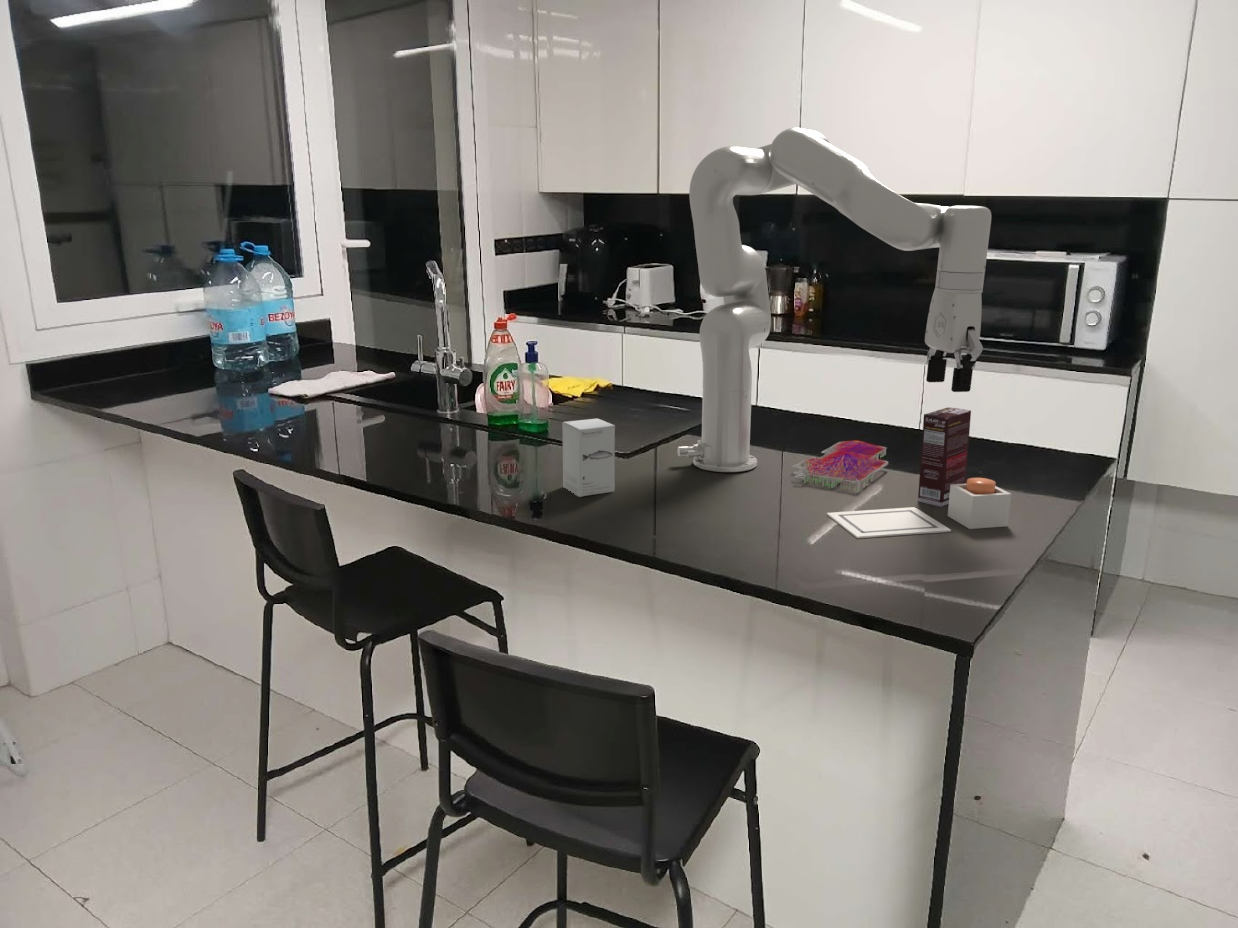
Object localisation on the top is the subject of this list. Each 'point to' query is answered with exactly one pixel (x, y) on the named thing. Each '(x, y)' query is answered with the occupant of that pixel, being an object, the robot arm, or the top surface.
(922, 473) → the supplement box
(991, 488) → the button
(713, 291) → the robot arm
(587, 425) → the supplement box
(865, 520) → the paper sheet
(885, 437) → the top surface
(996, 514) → the button housing
